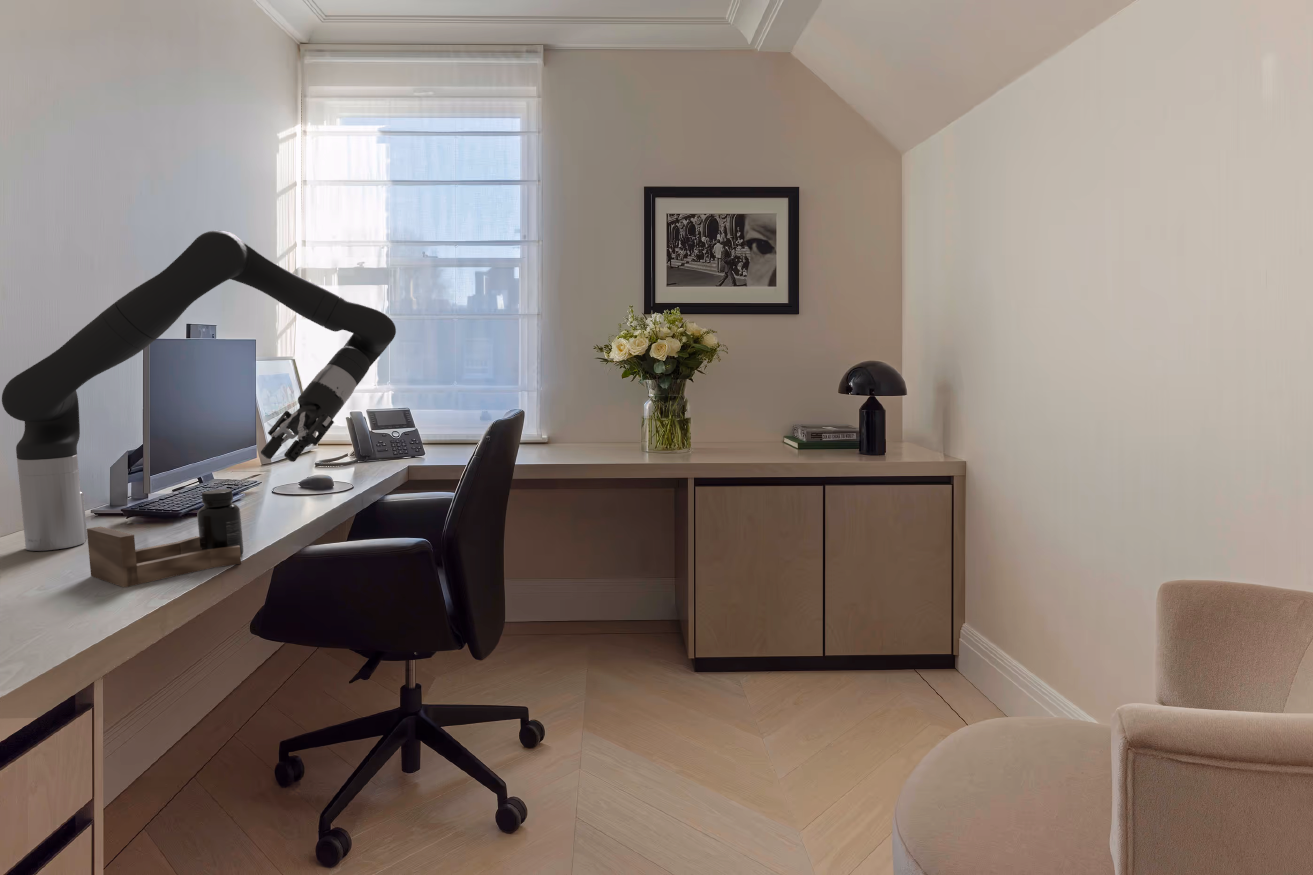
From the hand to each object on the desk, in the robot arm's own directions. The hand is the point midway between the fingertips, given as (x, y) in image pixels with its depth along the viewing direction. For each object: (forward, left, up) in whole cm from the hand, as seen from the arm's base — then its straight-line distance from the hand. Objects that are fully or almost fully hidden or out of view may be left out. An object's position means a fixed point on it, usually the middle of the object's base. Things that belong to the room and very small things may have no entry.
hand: (276, 457), depth 154 cm
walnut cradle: (+17, -12, -17) cm, 27 cm away
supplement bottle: (+9, -7, -17) cm, 20 cm away
